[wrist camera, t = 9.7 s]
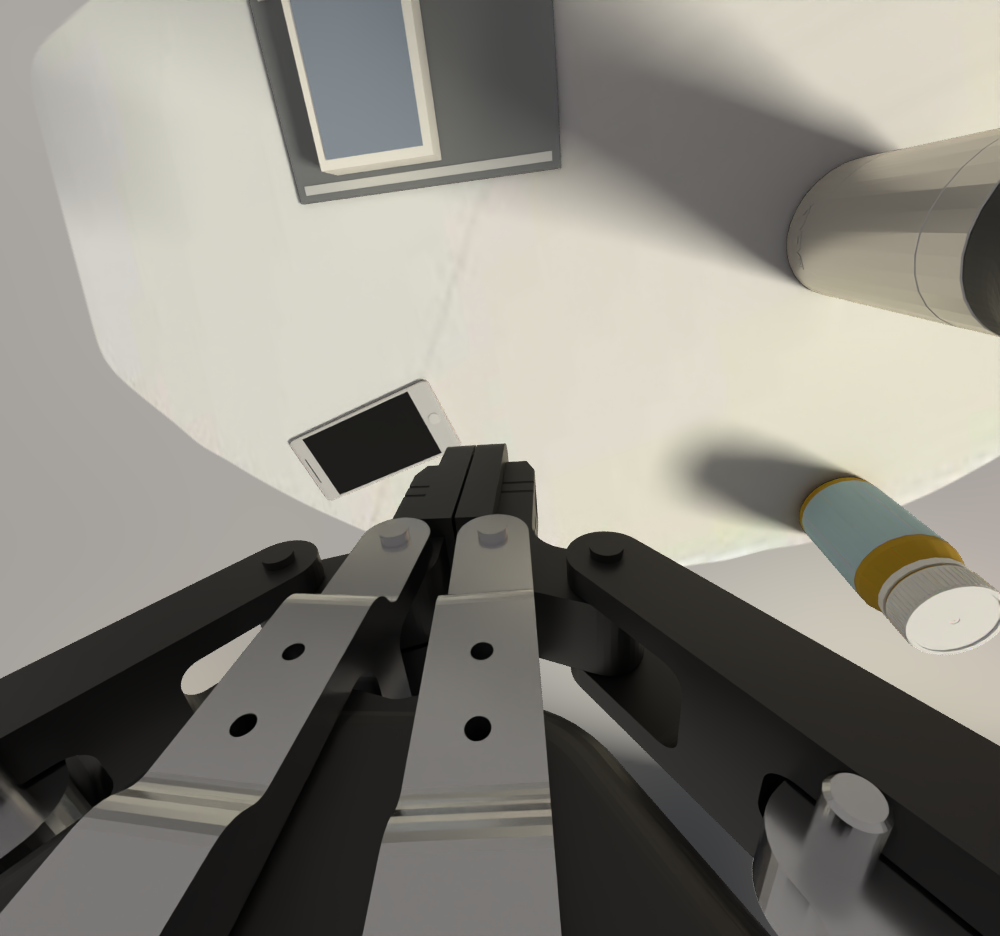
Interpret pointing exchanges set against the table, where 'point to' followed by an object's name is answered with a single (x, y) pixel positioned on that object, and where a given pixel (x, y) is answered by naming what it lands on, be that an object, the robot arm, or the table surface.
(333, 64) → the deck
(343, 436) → the smartphone
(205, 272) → the table surface
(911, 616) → the bottle
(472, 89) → the mat
